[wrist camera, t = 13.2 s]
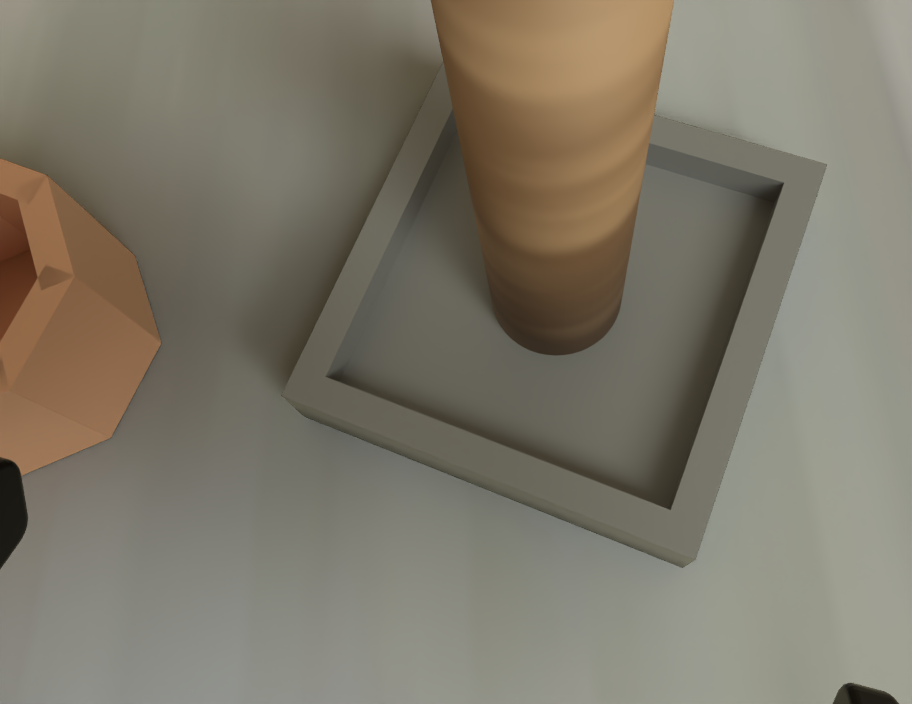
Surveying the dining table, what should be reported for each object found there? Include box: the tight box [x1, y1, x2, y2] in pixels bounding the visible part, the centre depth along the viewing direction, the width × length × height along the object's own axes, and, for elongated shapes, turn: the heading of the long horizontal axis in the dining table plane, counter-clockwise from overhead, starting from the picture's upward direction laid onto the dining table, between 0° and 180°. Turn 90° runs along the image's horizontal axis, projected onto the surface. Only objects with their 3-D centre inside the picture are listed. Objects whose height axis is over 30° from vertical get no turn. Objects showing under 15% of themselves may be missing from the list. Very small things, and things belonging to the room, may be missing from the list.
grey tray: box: [281, 62, 827, 568], centre depth 22 cm, size 10×10×2 cm
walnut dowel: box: [431, 0, 674, 356], centre depth 16 cm, size 3×3×12 cm
